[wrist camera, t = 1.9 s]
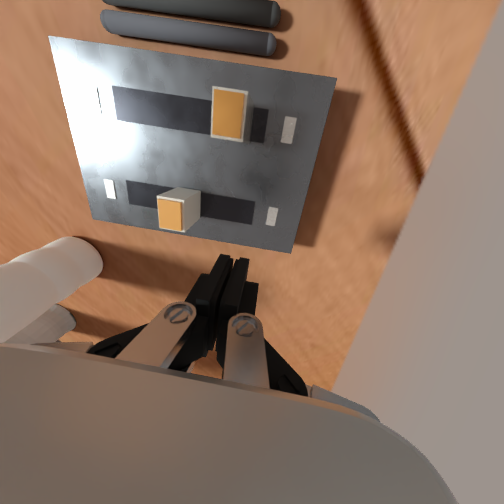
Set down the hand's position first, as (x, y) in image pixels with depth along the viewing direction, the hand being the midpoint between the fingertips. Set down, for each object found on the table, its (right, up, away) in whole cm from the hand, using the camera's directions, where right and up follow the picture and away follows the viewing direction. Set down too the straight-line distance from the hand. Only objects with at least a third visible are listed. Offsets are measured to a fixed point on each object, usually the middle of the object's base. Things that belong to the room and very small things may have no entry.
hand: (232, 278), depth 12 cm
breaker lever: (-6, +7, +10) cm, 13 cm away
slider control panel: (-5, +12, +11) cm, 17 cm away
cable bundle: (-4, +22, +6) cm, 23 cm away
